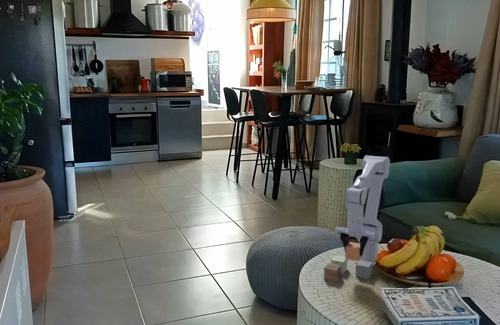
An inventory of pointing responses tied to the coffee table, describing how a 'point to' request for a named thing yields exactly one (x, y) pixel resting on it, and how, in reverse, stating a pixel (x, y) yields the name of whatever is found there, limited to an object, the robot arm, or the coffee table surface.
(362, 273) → the slate block
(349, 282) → the coffee table surface
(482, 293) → the coffee table surface
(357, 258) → the terracotta block
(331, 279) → the walnut block
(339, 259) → the sage block
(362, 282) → the coffee table surface
